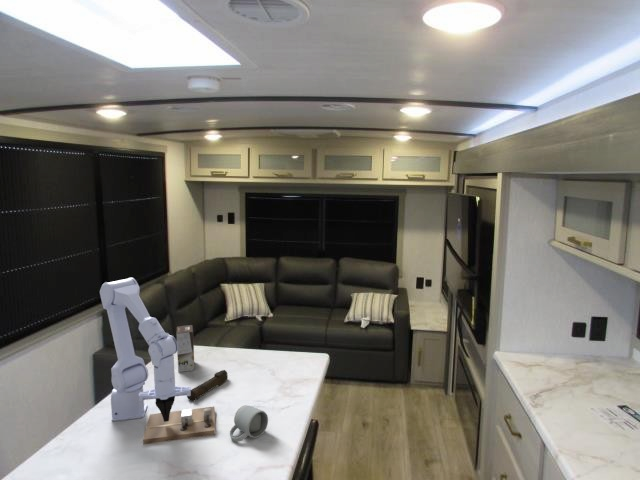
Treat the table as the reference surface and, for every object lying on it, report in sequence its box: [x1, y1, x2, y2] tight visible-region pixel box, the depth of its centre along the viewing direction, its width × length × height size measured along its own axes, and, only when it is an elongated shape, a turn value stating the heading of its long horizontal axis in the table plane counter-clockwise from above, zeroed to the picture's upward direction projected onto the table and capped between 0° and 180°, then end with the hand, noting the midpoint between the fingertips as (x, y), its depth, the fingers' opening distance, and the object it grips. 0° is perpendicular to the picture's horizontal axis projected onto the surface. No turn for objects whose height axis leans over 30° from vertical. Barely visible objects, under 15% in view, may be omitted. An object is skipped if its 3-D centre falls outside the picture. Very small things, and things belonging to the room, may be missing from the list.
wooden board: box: [142, 406, 216, 446], centre depth 132 cm, size 20×14×5 cm
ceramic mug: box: [229, 404, 269, 443], centre depth 128 cm, size 11×8×8 cm
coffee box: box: [175, 324, 195, 373], centre depth 174 cm, size 9×6×16 cm
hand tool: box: [186, 369, 228, 402], centre depth 156 cm, size 19×4×5 cm, turn 149°
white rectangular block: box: [181, 408, 193, 426], centre depth 131 cm, size 3×5×3 cm, turn 14°
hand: (166, 419), depth 130 cm, fingers closed
